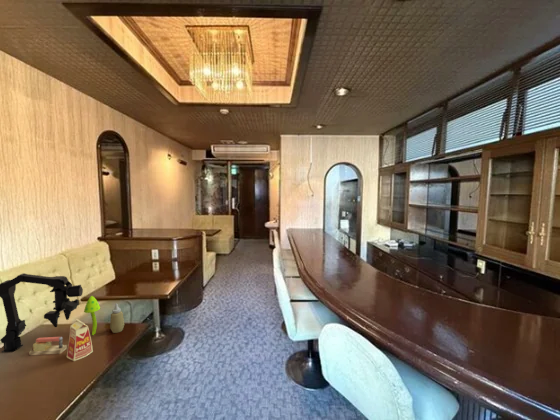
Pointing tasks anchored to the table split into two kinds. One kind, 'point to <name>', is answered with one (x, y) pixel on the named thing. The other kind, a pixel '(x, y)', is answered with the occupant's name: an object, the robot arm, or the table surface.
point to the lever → (49, 339)
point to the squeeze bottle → (116, 320)
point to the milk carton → (79, 341)
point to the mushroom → (92, 311)
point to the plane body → (50, 350)
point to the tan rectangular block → (41, 346)
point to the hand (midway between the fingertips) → (61, 323)
